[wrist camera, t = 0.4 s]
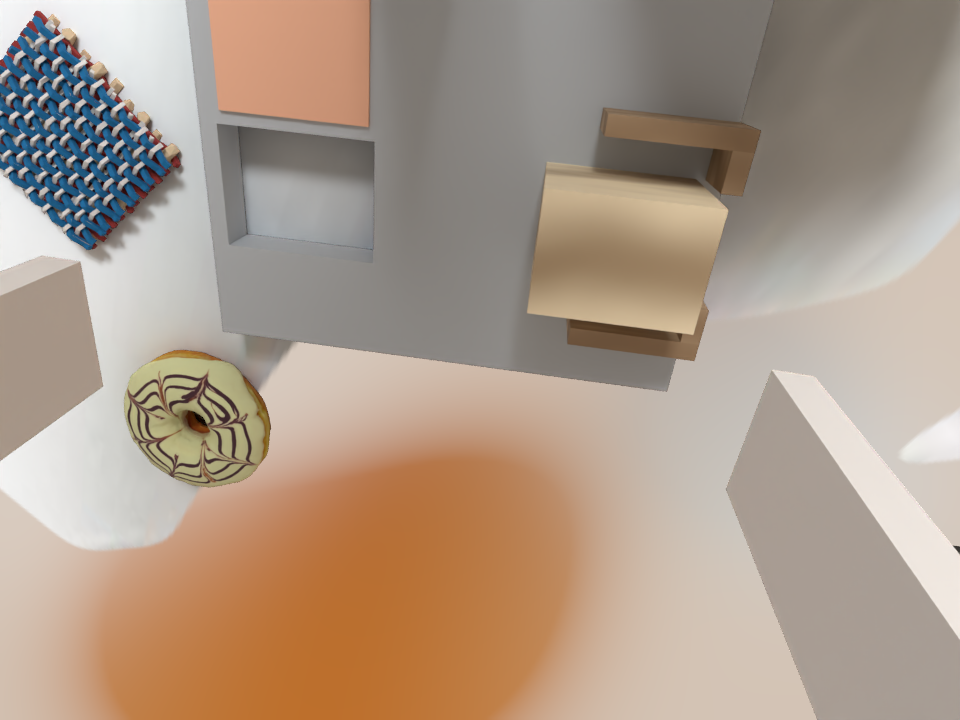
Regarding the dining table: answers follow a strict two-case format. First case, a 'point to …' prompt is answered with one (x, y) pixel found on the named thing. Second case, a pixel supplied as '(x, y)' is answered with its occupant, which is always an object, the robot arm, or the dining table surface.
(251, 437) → the decorated donut
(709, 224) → the block
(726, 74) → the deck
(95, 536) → the dining table surface
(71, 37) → the woven mat
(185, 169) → the dining table surface
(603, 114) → the walls
